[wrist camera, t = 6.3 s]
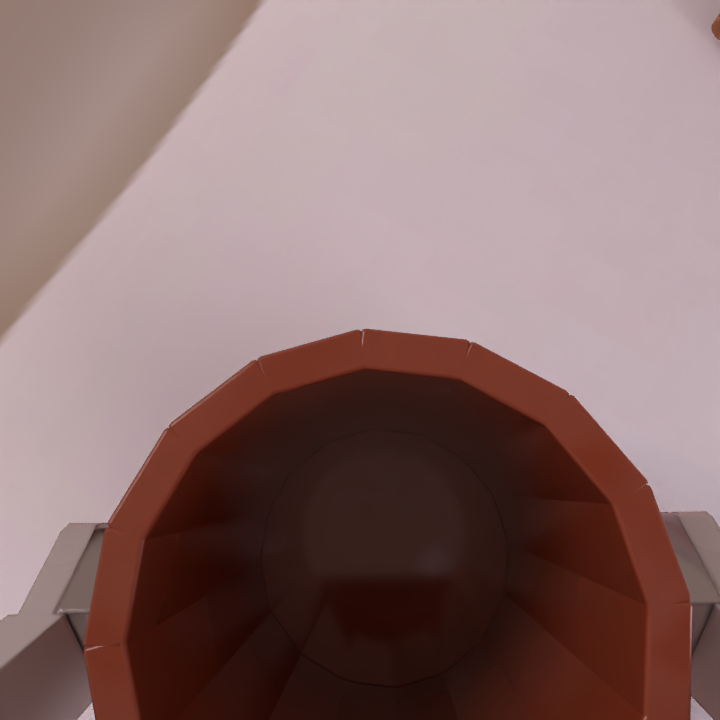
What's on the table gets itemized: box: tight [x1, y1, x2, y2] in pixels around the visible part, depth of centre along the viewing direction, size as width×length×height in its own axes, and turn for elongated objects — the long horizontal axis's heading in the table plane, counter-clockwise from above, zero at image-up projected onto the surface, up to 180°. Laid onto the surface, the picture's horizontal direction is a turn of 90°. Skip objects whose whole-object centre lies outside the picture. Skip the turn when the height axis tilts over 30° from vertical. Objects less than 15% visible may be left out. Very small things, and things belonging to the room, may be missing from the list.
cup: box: [84, 329, 692, 720], centre depth 11 cm, size 7×7×8 cm
